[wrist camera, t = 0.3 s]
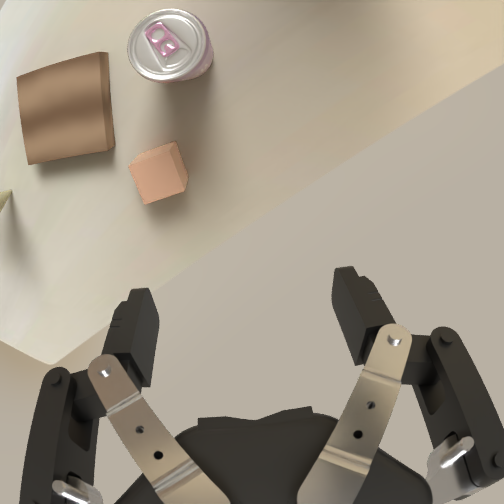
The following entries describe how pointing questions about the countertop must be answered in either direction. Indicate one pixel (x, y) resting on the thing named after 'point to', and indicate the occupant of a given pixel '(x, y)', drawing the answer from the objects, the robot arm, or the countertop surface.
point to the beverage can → (170, 46)
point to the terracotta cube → (159, 173)
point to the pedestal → (66, 109)
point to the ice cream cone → (4, 198)
